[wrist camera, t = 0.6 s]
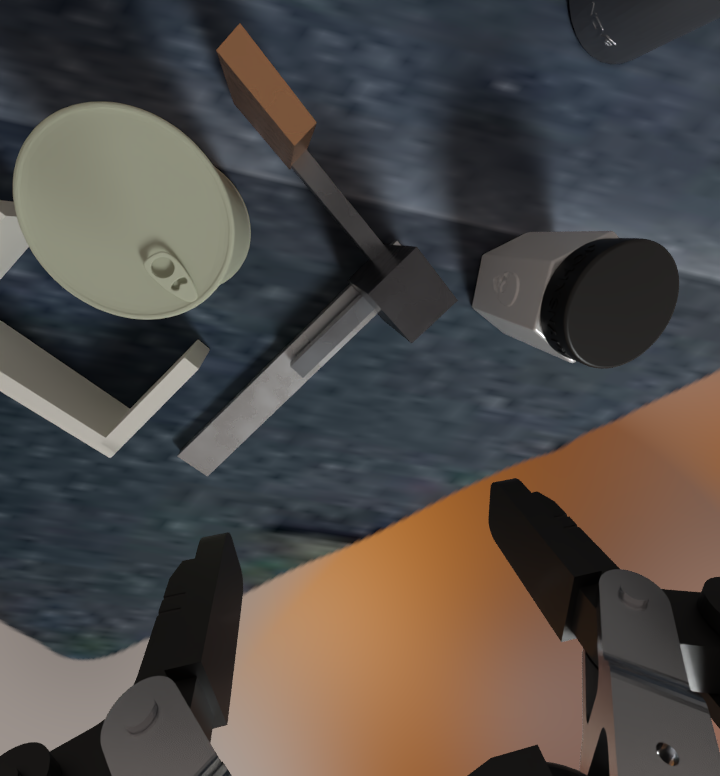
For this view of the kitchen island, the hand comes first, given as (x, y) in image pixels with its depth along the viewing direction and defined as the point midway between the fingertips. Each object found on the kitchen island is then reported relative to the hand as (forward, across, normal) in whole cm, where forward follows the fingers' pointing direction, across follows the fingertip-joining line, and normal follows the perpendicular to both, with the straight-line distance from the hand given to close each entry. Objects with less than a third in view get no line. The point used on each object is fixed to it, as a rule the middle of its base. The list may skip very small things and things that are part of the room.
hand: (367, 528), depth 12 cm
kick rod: (+22, +1, -7) cm, 23 cm away
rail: (+23, +2, +2) cm, 23 cm away
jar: (+24, -18, -2) cm, 30 cm away
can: (+23, +8, -9) cm, 26 cm away
